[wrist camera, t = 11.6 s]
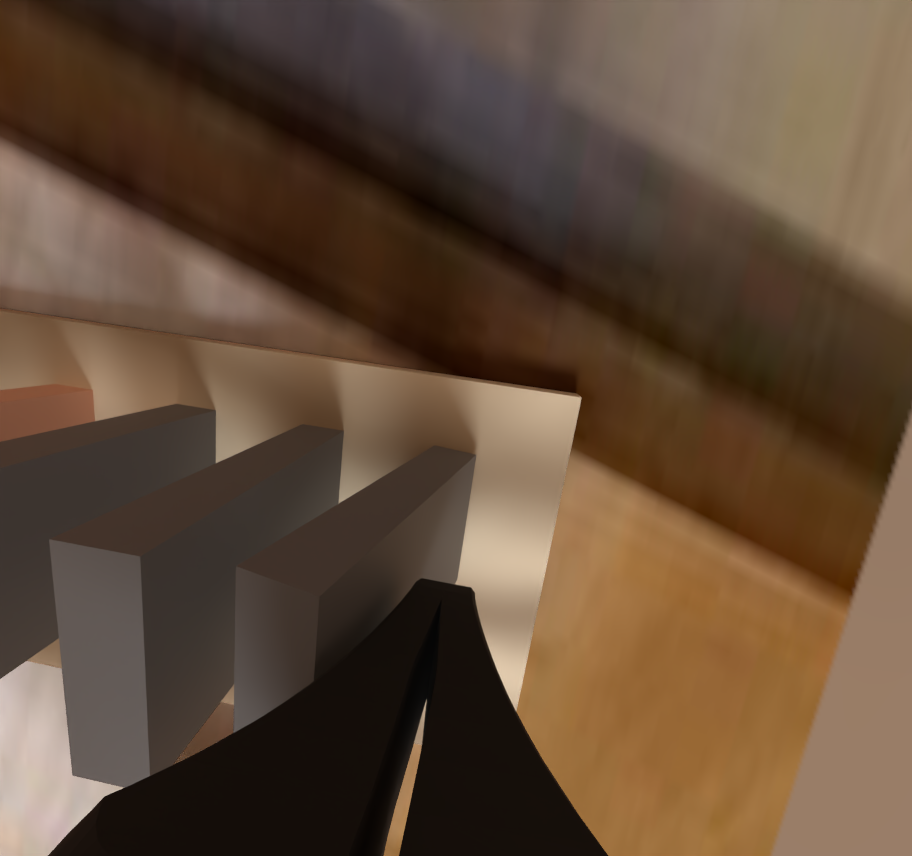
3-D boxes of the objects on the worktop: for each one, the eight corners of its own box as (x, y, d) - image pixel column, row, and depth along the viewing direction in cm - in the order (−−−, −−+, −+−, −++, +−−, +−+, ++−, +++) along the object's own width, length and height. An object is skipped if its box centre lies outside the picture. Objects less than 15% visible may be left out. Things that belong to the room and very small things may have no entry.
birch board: (505, 740, 19) (505, 762, 18) (-87, 616, 21) (-115, 630, 20) (576, 393, 15) (581, 397, 14) (-151, 285, 17) (-189, 282, 16)
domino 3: (476, 454, 15) (319, 596, 6) (457, 579, 16) (302, 838, 8) (434, 445, 15) (235, 566, 7) (418, 567, 16) (232, 799, 8)
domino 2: (343, 430, 15) (140, 556, 7) (334, 552, 17) (150, 793, 8) (302, 423, 16) (49, 539, 7) (296, 545, 17) (72, 775, 8)
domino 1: (215, 409, 16) (-135, 504, 7) (215, 530, 17) (-86, 738, 8) (176, 403, 16) (-217, 488, 7) (178, 523, 17) (-158, 721, 8)
